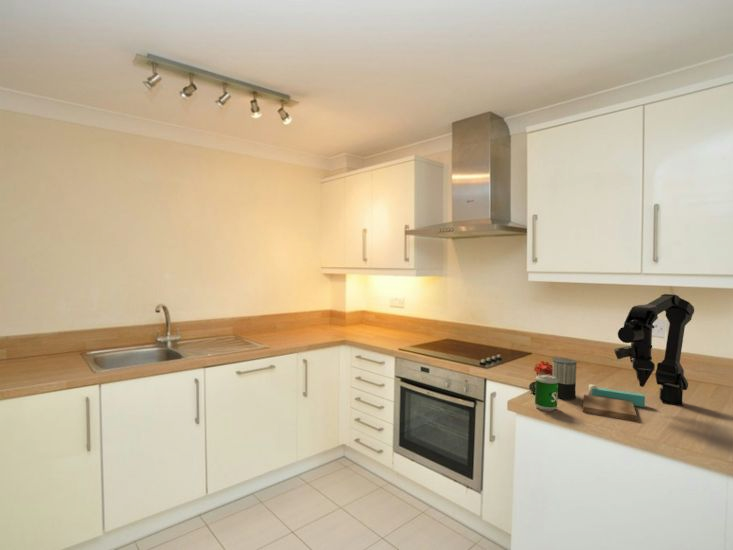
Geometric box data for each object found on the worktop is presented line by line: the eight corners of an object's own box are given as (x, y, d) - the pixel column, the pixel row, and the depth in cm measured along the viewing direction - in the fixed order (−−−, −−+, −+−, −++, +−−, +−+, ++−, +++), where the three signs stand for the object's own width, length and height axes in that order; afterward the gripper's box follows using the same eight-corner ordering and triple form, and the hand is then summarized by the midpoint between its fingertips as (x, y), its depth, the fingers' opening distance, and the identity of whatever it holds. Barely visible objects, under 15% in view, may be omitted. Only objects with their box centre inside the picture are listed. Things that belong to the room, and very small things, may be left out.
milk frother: (581, 400, 156) (582, 362, 156) (545, 401, 154) (546, 363, 154) (558, 388, 170) (559, 354, 170) (524, 390, 168) (525, 355, 168)
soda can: (546, 413, 141) (547, 379, 141) (530, 406, 148) (531, 374, 148) (561, 410, 144) (562, 377, 144) (545, 403, 151) (545, 372, 151)
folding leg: (588, 398, 157) (588, 385, 157) (588, 396, 160) (588, 383, 160) (644, 407, 148) (645, 393, 148) (643, 404, 151) (644, 391, 151)
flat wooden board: (632, 407, 149) (632, 401, 149) (636, 421, 135) (636, 415, 135) (583, 399, 157) (583, 394, 157) (582, 412, 143) (583, 406, 143)
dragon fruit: (536, 377, 193) (554, 388, 182) (525, 368, 190) (543, 379, 179) (546, 363, 194) (565, 373, 183) (536, 354, 191) (554, 364, 180)
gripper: (615, 335, 157) (613, 374, 157) (616, 342, 141) (615, 386, 141) (649, 338, 151) (648, 378, 152) (655, 346, 135) (653, 391, 136)
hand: (640, 383), depth 145 cm, fingers open, 9 cm apart
